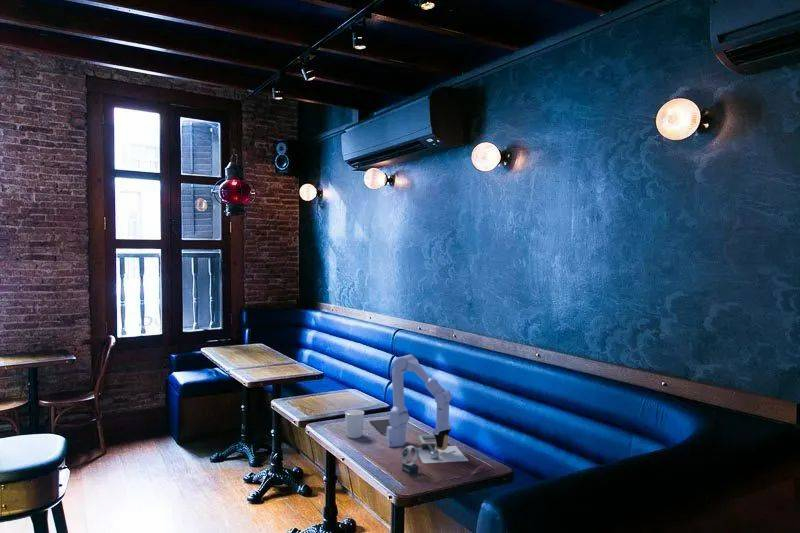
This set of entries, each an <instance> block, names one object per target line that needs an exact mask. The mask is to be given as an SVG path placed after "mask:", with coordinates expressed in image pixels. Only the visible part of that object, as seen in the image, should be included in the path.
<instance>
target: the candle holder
mask: <svg viewBox="0 0 800 533" xmlns="http://www.w3.org/2000/svg"><path fill="white" fill-rule="evenodd" d="M344 415H345V416H344V418H345V419H344V420H345V422H344V423H345V436H346V438H350V439H359V438H362V437H363V430H364V422H365V421H364V417H365V411H363V410H361V409H356V408H354V409H347V410H346V411H344Z"/></svg>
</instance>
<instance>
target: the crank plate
mask: <svg viewBox="0 0 800 533" xmlns="http://www.w3.org/2000/svg"><path fill="white" fill-rule="evenodd" d="M416 448H417V449H418V451H419V457H418V458H419V459H420V460H421V462H422V463H423V464H436V463H438V464H439V463H452V462H453V463H454V462H455V463H456V462H469V459H468V457H466V456H465V455H464V454H463V452H462V451H461V450H460V449H459V448H458V447H457V445H447V448H446V449H445V450H440V449H436V446H435V449H434V450H436V451H439V458H438V459H432V458H430V453H429V451H428V450H427V449H422V446H421V447H416ZM413 450H415V448H413Z"/></svg>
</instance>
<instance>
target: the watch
mask: <svg viewBox="0 0 800 533" xmlns="http://www.w3.org/2000/svg"><path fill="white" fill-rule="evenodd" d="M414 448H415V449H414ZM417 448H418V447H415V446H414V445H408V446H406V447H404V448H403V449H402V450H401V453H400V456H401V458H400V460H402V461H401V462H402V465H401V466H402V467H401V471H402V472H403V473H405V474H407V475H409V476H412V475H413V476H414V475H416V474H418V473H419V465H418V464H416V463H417V461H418V459H419V458H420V457H419V451H418V449H417ZM413 449H414V451H415V452H414V454H413V457H412V459H411V461H408V460H409V458H410V457H411V456H412V451H413ZM407 461H408V462H407Z"/></svg>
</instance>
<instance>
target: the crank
mask: <svg viewBox="0 0 800 533" xmlns="http://www.w3.org/2000/svg"><path fill="white" fill-rule="evenodd" d="M427 443H428V444H422V443H421V447H422V449H427V450H428V451H429V453H430V458H432V459H438V458H439V451H436V450H434V449H435V447H436V446H435V444H434V443H429V442H427Z"/></svg>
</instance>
